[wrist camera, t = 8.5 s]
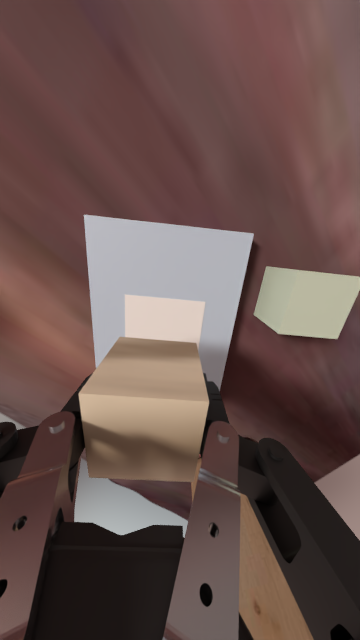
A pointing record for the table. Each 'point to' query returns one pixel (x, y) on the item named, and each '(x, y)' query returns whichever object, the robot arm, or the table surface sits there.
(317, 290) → the sage cap block
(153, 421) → the maple block
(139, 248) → the board
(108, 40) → the table surface
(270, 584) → the wooden block
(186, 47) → the table surface
